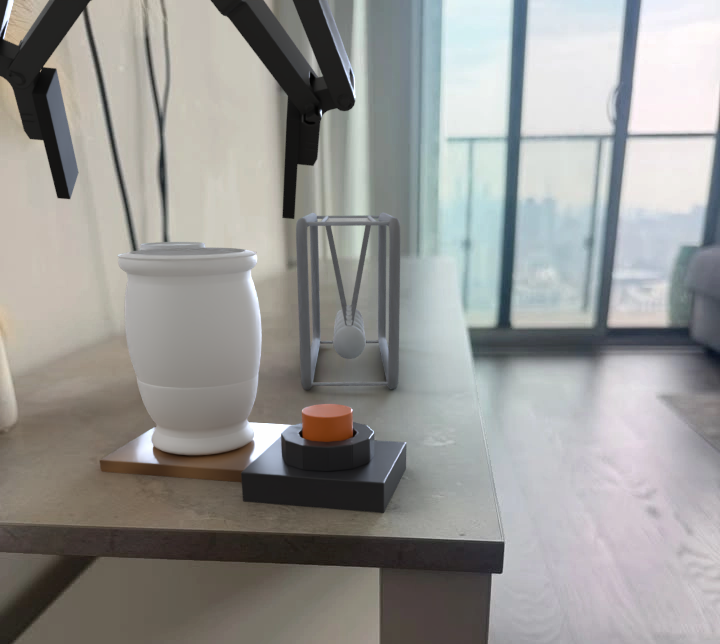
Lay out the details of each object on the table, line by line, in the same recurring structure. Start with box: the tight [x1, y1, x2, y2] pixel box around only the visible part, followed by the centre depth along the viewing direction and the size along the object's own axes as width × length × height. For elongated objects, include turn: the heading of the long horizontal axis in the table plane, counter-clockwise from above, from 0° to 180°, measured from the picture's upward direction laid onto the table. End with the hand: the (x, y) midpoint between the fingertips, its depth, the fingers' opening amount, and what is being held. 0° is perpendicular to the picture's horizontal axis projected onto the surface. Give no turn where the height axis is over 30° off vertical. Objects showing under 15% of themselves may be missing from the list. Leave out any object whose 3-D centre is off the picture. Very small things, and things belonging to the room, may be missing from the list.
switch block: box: [241, 421, 407, 514], centre depth 54 cm, size 10×9×4 cm
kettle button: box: [301, 403, 354, 442], centre depth 53 cm, size 4×4×2 cm
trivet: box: [99, 422, 293, 483], centre depth 62 cm, size 12×12×1 cm
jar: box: [117, 247, 263, 455], centre depth 59 cm, size 11×10×15 cm
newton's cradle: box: [295, 212, 401, 391], centre depth 91 cm, size 30×10×18 cm, turn 1°
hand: (180, 195), depth 47 cm, fingers open, 13 cm apart
